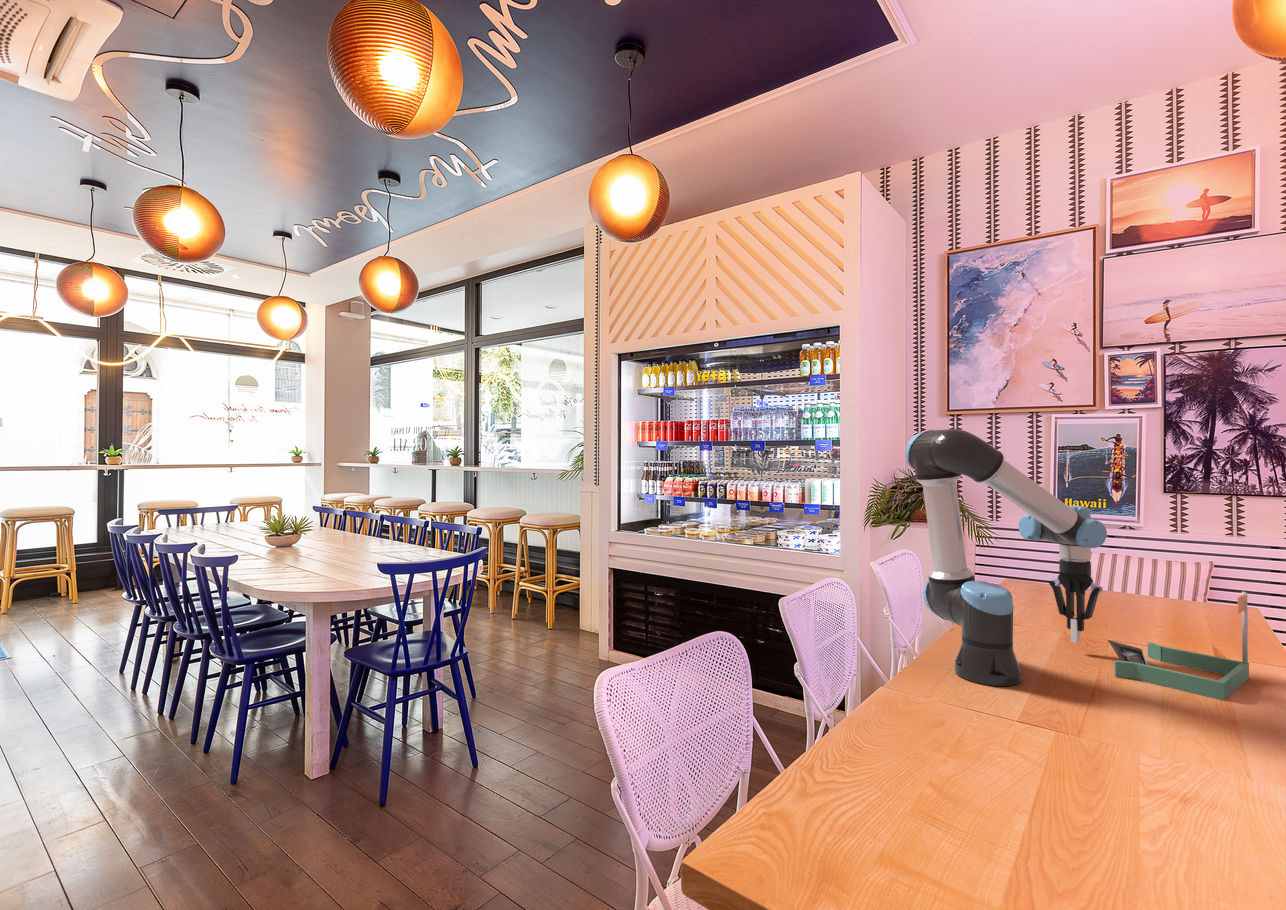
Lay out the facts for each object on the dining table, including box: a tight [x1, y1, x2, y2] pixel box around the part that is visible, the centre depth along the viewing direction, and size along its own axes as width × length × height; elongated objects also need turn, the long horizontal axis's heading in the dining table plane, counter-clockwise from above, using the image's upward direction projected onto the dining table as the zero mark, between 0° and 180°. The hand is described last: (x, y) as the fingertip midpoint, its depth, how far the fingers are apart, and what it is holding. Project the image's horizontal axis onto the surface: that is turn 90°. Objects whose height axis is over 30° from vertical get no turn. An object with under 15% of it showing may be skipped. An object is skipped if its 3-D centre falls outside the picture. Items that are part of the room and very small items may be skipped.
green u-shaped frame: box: [1113, 591, 1250, 701], centre depth 159 cm, size 21×27×22 cm
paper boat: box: [1107, 639, 1149, 665], centre depth 166 cm, size 12×6×9 cm
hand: (1075, 641), depth 178 cm, fingers closed
